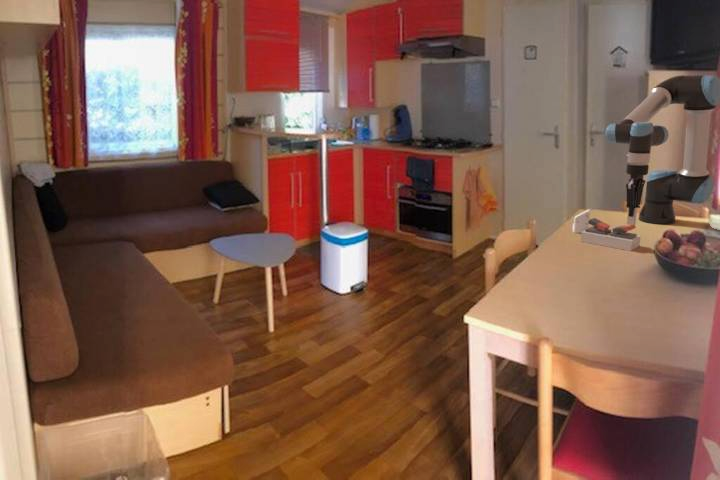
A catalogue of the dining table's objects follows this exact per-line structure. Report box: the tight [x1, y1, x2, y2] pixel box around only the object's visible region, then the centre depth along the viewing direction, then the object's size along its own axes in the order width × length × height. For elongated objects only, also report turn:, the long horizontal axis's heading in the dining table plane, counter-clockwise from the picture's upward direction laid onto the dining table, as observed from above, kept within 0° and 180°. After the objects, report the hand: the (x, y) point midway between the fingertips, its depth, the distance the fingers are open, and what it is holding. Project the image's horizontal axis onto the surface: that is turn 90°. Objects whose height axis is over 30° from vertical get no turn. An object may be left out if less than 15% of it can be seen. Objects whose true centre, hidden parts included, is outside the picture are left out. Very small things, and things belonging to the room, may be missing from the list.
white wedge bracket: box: [571, 208, 591, 234], centre depth 260 cm, size 4×10×9 cm, turn 84°
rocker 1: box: [588, 217, 611, 231], centre depth 244 cm, size 5×7×2 cm
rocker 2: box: [611, 224, 636, 234], centre depth 237 cm, size 5×7×2 cm
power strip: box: [580, 226, 641, 252], centre depth 242 cm, size 9×20×5 cm, turn 45°
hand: (631, 224), depth 235 cm, fingers closed
